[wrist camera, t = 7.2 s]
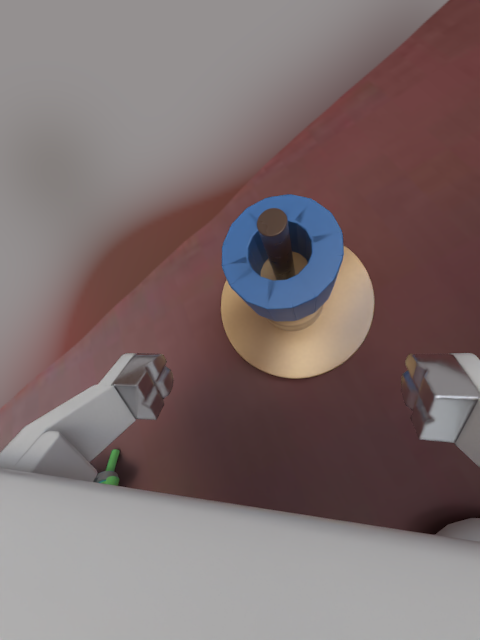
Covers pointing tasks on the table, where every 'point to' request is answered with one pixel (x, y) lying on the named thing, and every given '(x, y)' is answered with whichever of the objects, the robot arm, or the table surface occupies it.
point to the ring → (306, 239)
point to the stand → (309, 332)
